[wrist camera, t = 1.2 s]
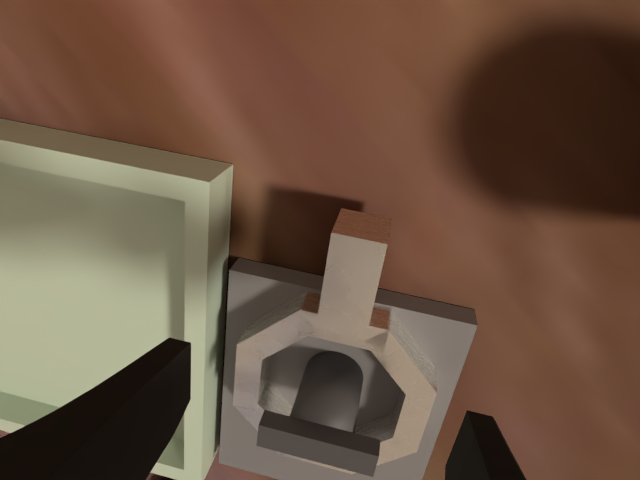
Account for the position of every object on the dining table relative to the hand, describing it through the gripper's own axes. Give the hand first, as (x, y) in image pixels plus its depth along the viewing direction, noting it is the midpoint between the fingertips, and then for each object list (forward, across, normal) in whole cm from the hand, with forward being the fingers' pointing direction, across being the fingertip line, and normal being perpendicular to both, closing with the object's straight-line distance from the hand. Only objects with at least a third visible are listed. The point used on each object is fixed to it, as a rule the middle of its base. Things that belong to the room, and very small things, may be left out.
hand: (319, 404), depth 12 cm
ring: (+8, 0, +4) cm, 9 cm away
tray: (+9, +16, +6) cm, 19 cm away
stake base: (+9, 0, +8) cm, 13 cm away
